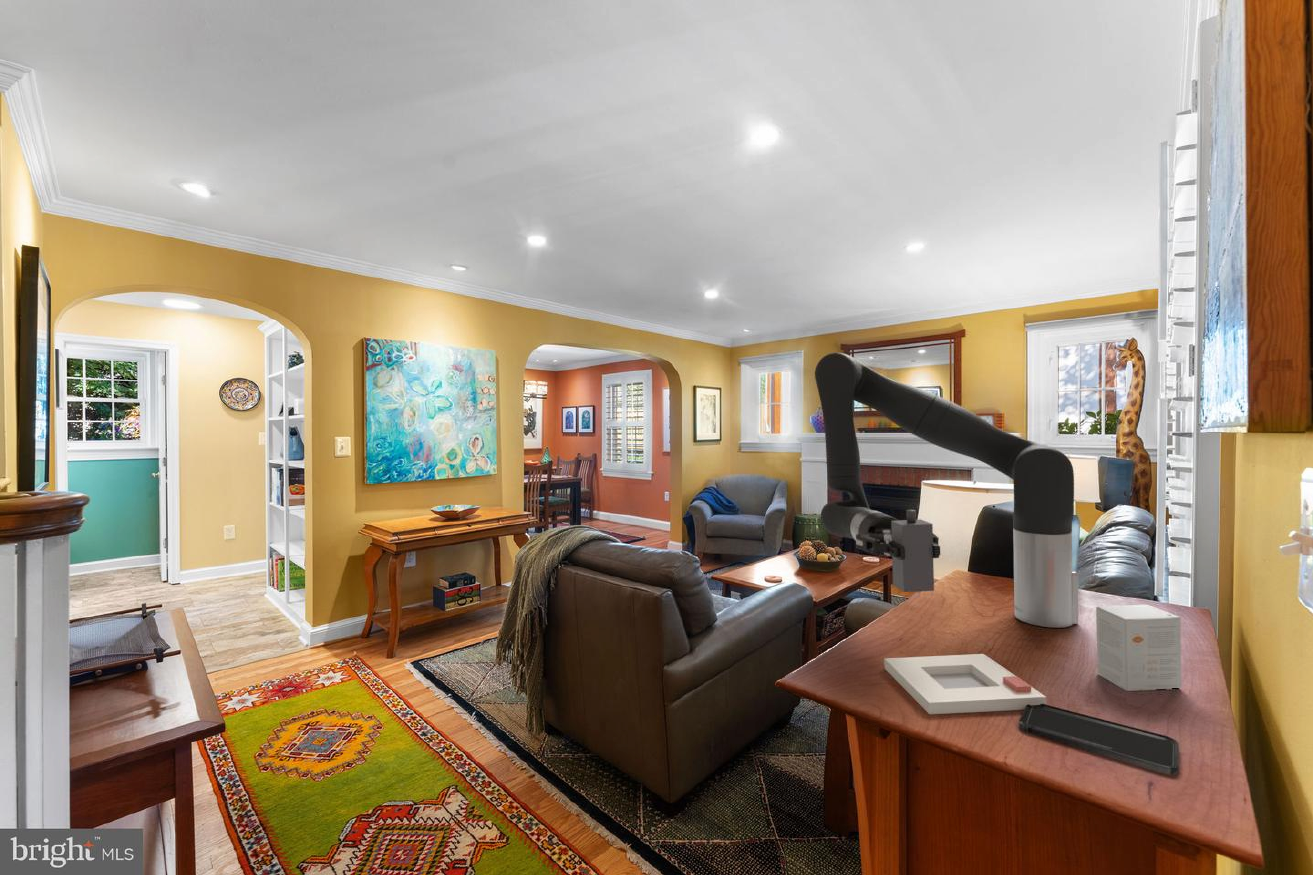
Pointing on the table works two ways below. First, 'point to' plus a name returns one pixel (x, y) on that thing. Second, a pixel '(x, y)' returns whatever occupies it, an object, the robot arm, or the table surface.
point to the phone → (1103, 737)
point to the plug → (913, 554)
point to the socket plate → (962, 684)
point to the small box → (1138, 647)
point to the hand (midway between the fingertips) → (919, 552)
